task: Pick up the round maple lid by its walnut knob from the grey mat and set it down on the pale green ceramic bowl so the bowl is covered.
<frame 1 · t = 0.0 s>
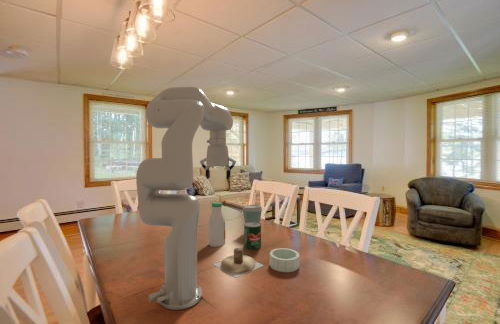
hand: (218, 178, 120), 31 cm above the table, tool pointing down, fingers open, 9 cm apart
disposable coffee cup: (252, 233, 137), on the table
lid: (238, 264, 97), point 1 cm above the table, touching mat
bowl: (284, 266, 98), on the table
canned tomato: (252, 247, 116), on the table
milk bottle: (217, 244, 120), on the table
mat: (238, 266, 98), on the table
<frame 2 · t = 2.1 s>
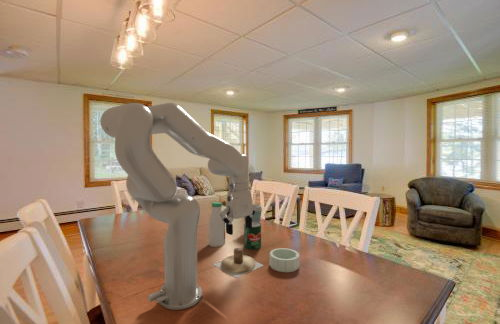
hand: (239, 230, 97), 14 cm above the table, tool pointing down, fingers open, 9 cm apart
nothing on the table moved.
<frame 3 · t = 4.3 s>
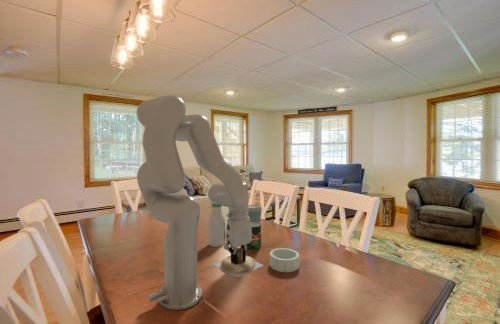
hand: (238, 261, 97), 2 cm above the table, tool pointing down, fingers closed on lid, 3 cm apart
lid: (238, 264, 97), point 1 cm above the table, touching gripper, mat
everything else where it was.
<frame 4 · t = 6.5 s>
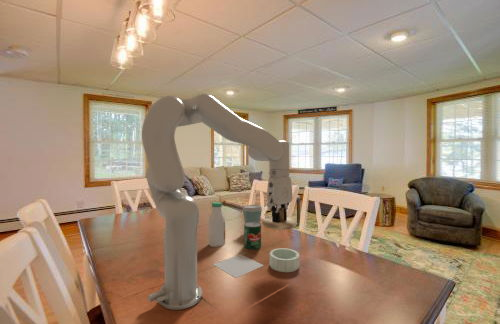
hand: (279, 220, 97), 18 cm above the table, tool pointing down, fingers closed on lid, 3 cm apart
lid: (279, 224, 97), point 16 cm above the table, touching gripper
everything else where it was.
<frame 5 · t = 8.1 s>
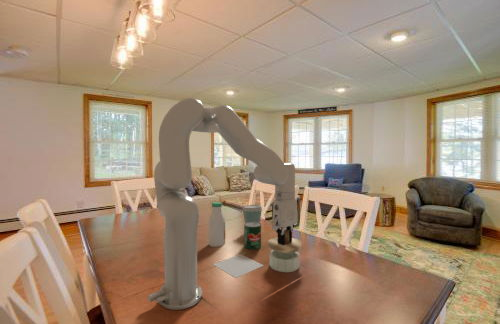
hand: (284, 242, 97), 9 cm above the table, tool pointing down, fingers closed on lid, 3 cm apart
lid: (284, 245, 97), point 8 cm above the table, touching gripper
everything else where it was.
when the fingers open (8 cm above the table, at t = 9.2 s): lid drops 1 cm, resting on bowl.
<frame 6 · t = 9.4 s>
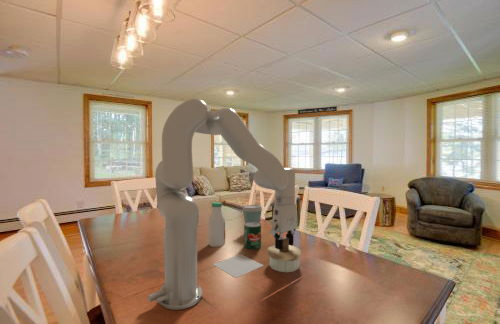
hand: (284, 246, 97), 8 cm above the table, tool pointing down, fingers open, 5 cm apart
lid: (284, 253, 97), point 5 cm above the table, touching bowl
everything else where it was.
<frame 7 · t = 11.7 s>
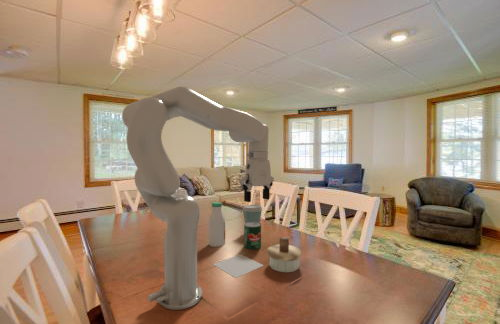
hand: (256, 200, 98), 25 cm above the table, tool pointing down, fingers open, 9 cm apart
nothing on the table moved.
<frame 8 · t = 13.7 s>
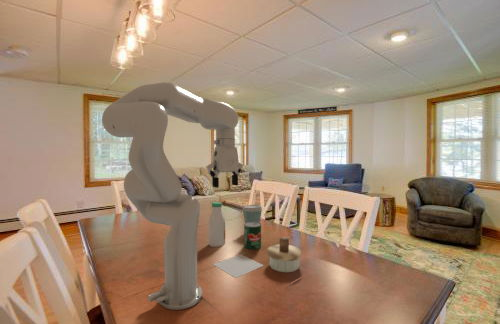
hand: (225, 186, 102), 30 cm above the table, tool pointing down, fingers open, 9 cm apart
nothing on the table moved.
at the end: lid 0.1 cm off-centre on the bowl, point 5.0 cm above the bowl's base; lid tilted 0°; the gripper is holding nothing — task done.
